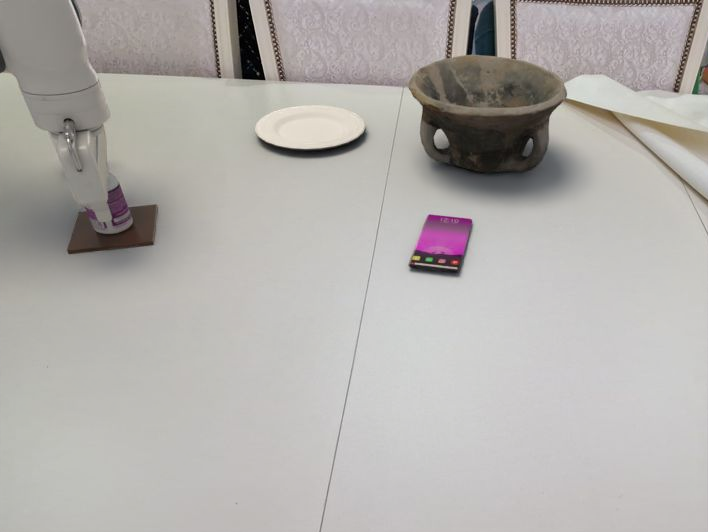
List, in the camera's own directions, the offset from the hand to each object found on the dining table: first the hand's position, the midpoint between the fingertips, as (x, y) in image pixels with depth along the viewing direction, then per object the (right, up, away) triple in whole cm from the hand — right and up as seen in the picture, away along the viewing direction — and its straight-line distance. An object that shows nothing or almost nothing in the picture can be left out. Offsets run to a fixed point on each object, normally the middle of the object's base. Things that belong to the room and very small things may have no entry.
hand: (105, 203), depth 88 cm
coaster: (0, -3, +3) cm, 4 cm away
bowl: (+55, +14, +26) cm, 62 cm away
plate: (+22, +21, +31) cm, 43 cm away
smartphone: (+48, -5, +4) cm, 49 cm away
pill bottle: (0, -3, +2) cm, 4 cm away
